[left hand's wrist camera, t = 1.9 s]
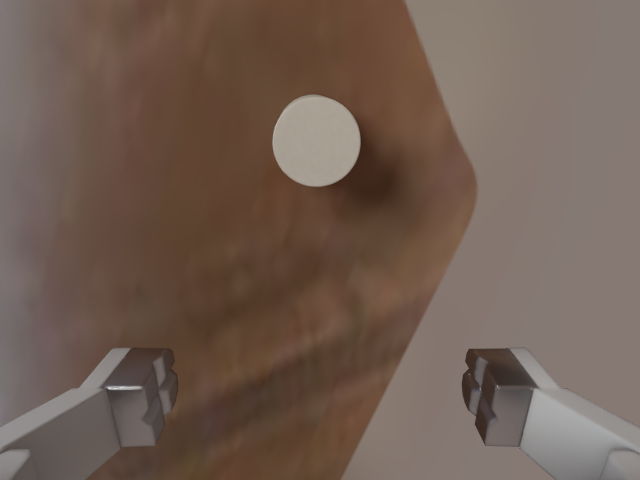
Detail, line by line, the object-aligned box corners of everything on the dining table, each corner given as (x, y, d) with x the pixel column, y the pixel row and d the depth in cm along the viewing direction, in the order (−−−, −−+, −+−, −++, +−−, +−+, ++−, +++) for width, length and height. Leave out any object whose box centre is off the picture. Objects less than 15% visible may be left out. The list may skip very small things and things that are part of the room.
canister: (363, 120, 23) (377, 127, 19) (325, 182, 24) (331, 202, 20) (299, 79, 22) (300, 78, 18) (263, 147, 23) (257, 160, 19)
